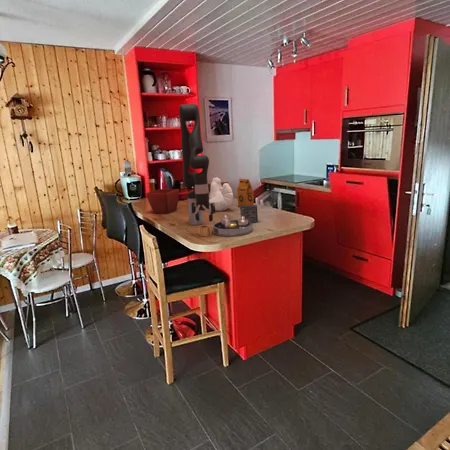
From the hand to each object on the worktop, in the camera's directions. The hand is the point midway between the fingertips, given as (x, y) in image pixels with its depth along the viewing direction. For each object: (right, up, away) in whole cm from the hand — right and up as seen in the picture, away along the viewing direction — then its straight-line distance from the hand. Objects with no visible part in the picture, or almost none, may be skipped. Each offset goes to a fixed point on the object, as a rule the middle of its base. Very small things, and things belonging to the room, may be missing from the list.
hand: (204, 220), depth 192 cm
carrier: (+16, -6, +7) cm, 19 cm away
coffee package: (+28, +12, +74) cm, 80 cm away
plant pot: (-35, +8, +75) cm, 83 cm away
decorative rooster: (+9, +8, +66) cm, 67 cm away
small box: (+28, -1, +27) cm, 38 cm away
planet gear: (0, -8, +2) cm, 9 cm away
